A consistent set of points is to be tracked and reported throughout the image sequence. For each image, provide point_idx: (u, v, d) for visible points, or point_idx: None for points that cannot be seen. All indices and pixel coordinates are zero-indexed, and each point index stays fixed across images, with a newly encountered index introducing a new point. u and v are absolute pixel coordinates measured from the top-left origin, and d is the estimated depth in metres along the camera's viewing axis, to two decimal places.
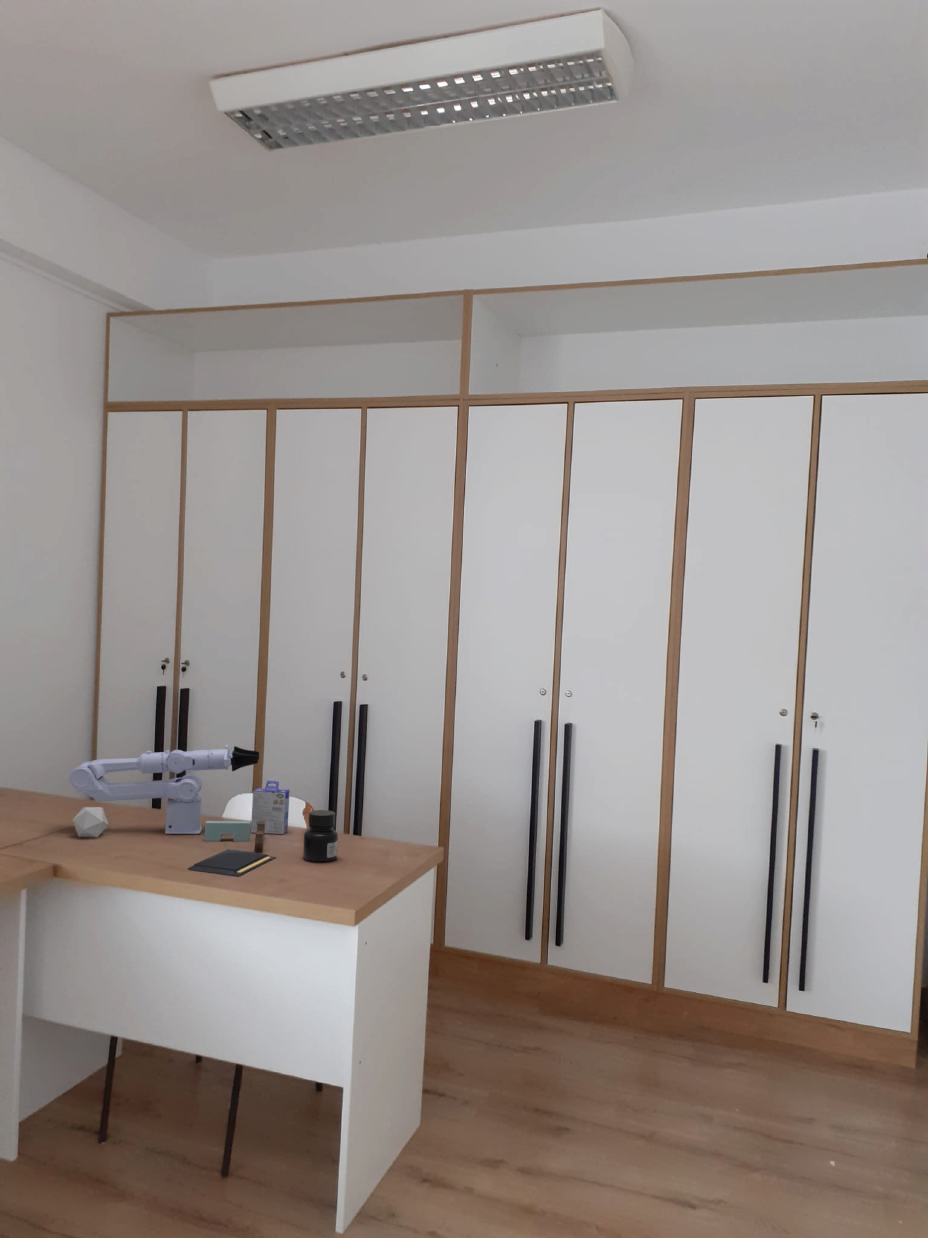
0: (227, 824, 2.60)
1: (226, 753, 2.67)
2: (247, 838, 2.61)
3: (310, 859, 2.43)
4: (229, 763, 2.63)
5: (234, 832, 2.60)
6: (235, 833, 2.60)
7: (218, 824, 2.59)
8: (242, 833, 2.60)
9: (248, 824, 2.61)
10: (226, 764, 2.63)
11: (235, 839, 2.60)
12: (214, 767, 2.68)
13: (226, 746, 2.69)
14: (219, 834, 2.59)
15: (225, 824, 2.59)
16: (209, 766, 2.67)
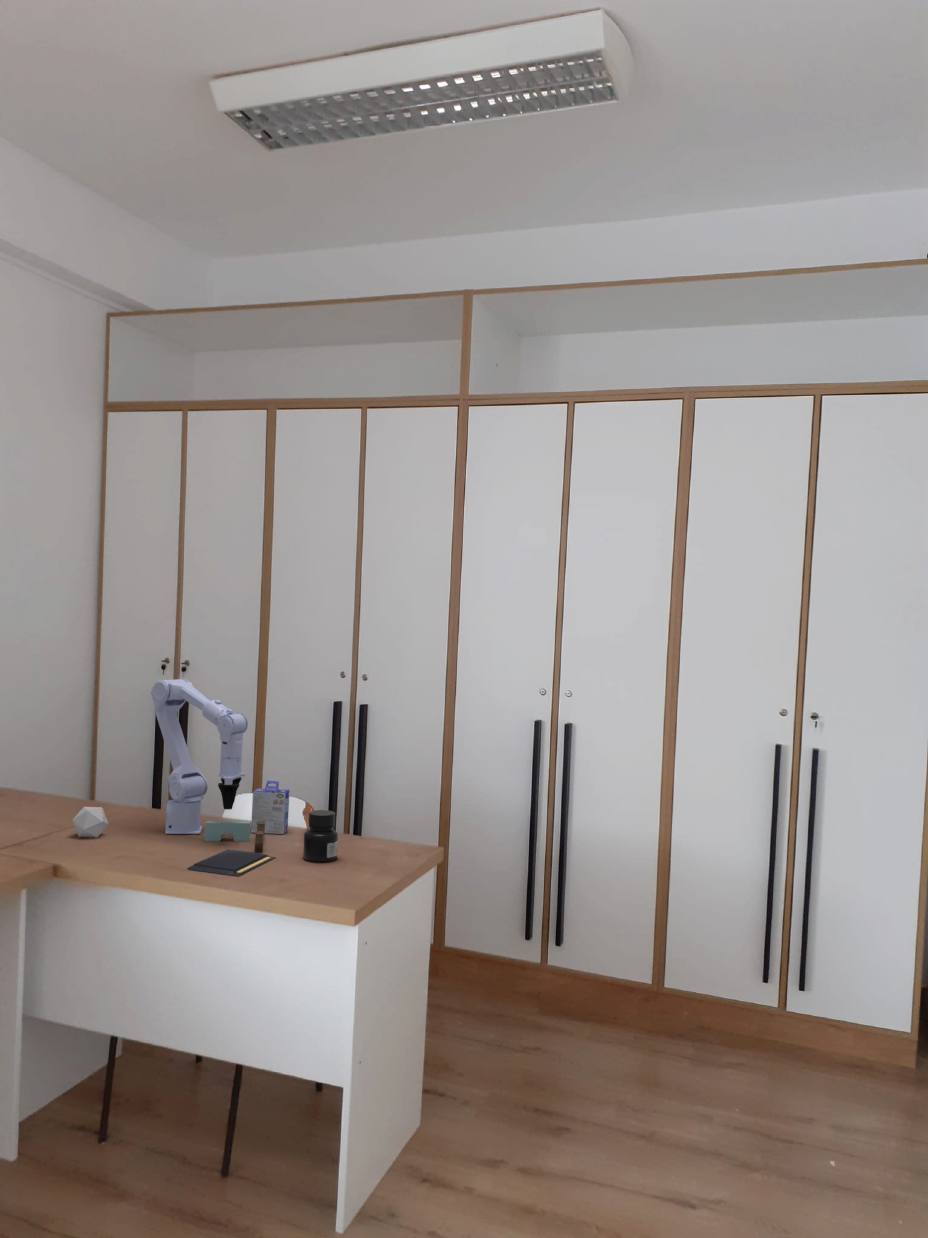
0: (227, 824, 2.60)
1: (237, 777, 2.58)
2: (247, 838, 2.61)
3: (310, 859, 2.43)
4: (227, 783, 2.54)
5: (234, 832, 2.60)
6: (235, 833, 2.60)
7: (218, 824, 2.59)
8: (242, 833, 2.60)
9: (248, 824, 2.61)
10: (226, 780, 2.53)
11: (235, 839, 2.60)
12: (223, 763, 2.58)
13: (243, 775, 2.60)
14: (219, 834, 2.59)
15: (225, 824, 2.59)
16: (224, 758, 2.58)
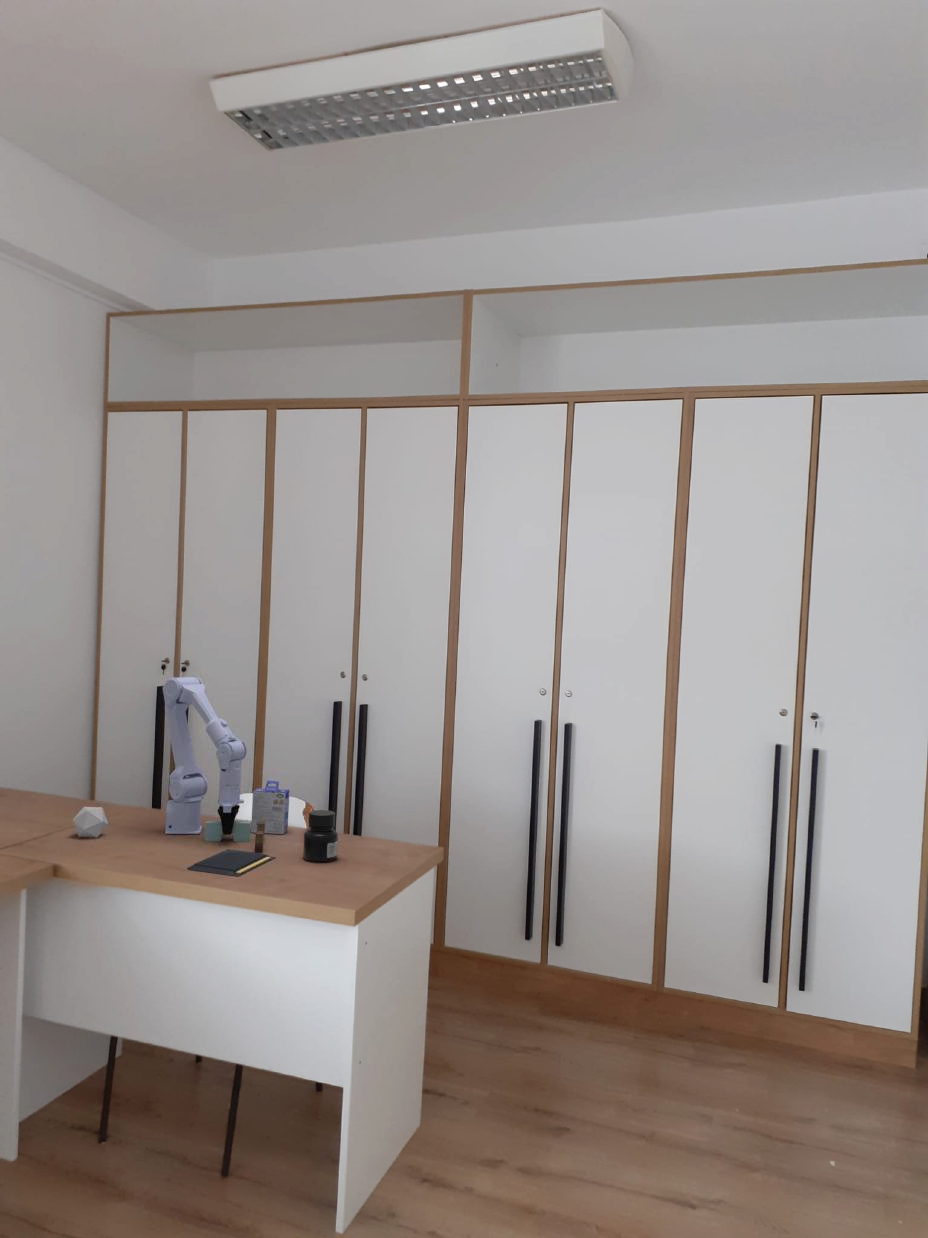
0: None
1: (235, 804, 2.58)
2: (247, 838, 2.61)
3: (310, 859, 2.43)
4: (226, 811, 2.54)
5: (234, 832, 2.60)
6: (235, 833, 2.60)
7: (218, 824, 2.59)
8: (242, 833, 2.60)
9: (248, 824, 2.61)
10: (225, 808, 2.54)
11: (235, 839, 2.60)
12: (221, 790, 2.58)
13: (242, 802, 2.60)
14: (219, 834, 2.59)
15: None
16: (223, 786, 2.58)
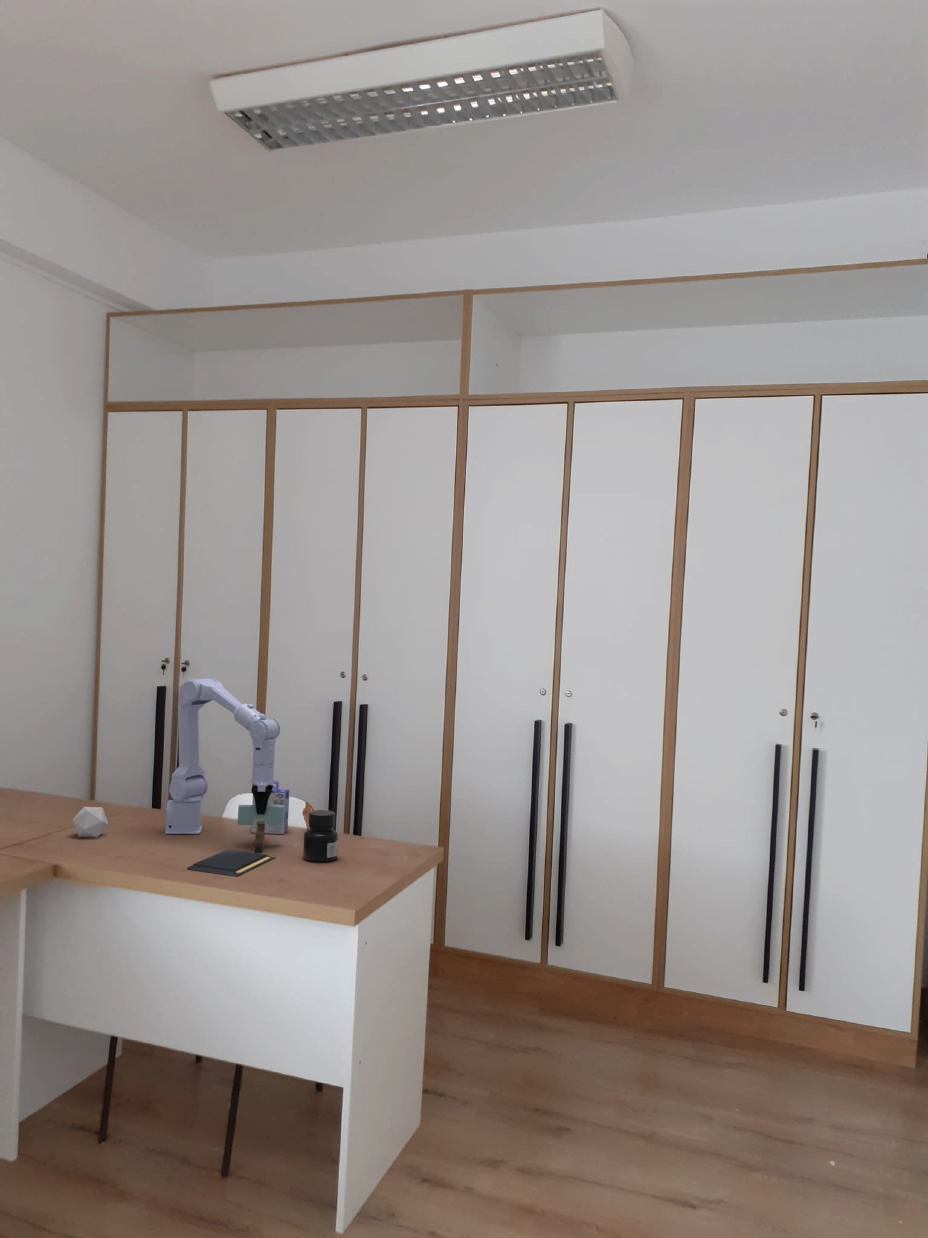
0: None
1: (269, 783, 2.54)
2: (280, 822, 2.56)
3: (310, 859, 2.43)
4: (260, 790, 2.49)
5: (267, 816, 2.56)
6: (268, 817, 2.56)
7: (251, 808, 2.55)
8: (275, 817, 2.56)
9: (281, 808, 2.56)
10: (259, 787, 2.49)
11: (268, 823, 2.56)
12: (255, 769, 2.54)
13: (276, 781, 2.56)
14: (252, 818, 2.55)
15: None
16: (257, 764, 2.54)
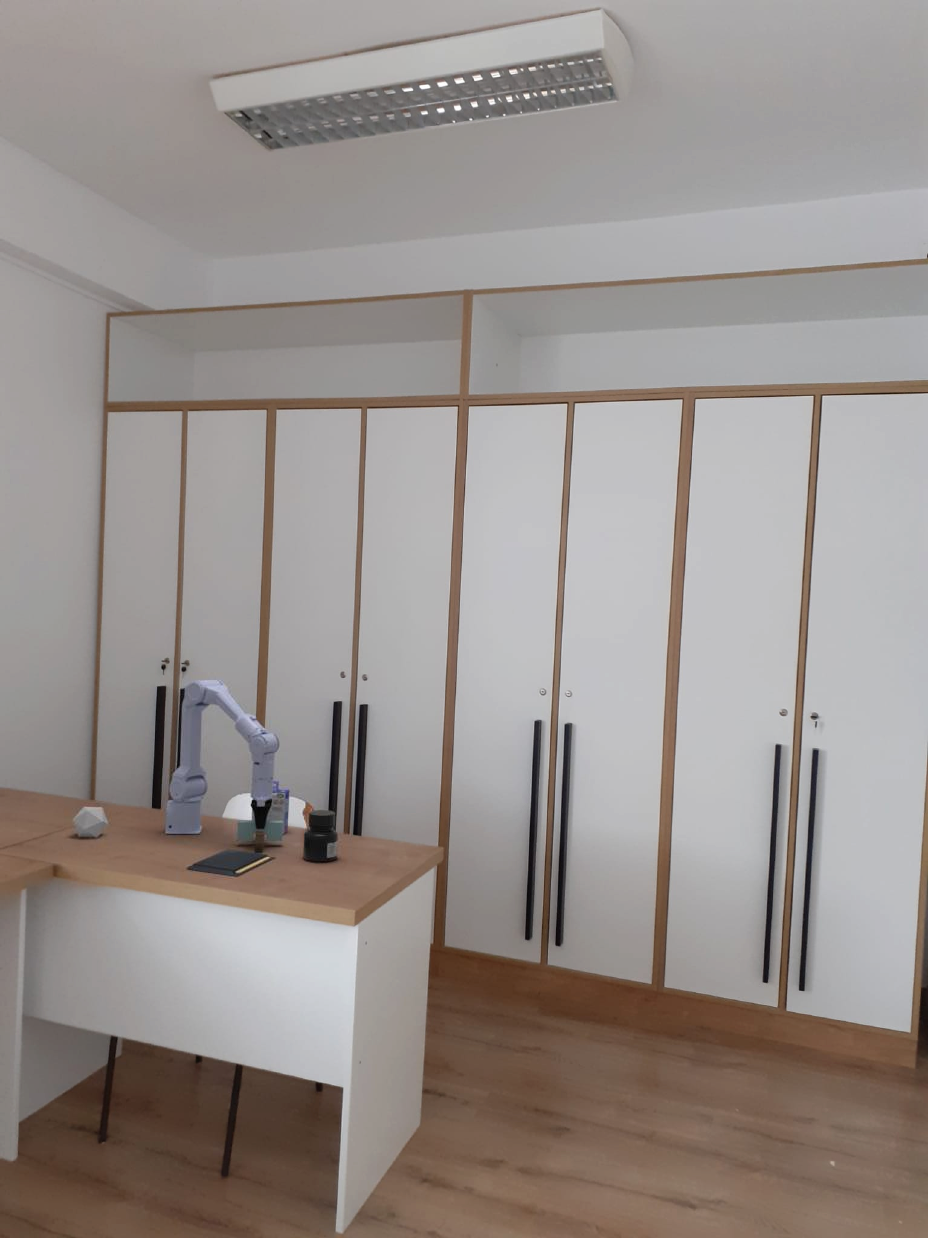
0: None
1: (269, 798, 2.54)
2: (280, 838, 2.56)
3: (310, 859, 2.43)
4: (260, 805, 2.49)
5: (267, 832, 2.56)
6: (268, 833, 2.56)
7: (251, 823, 2.55)
8: (275, 833, 2.56)
9: (281, 823, 2.56)
10: (259, 802, 2.49)
11: (268, 839, 2.56)
12: (255, 784, 2.54)
13: (275, 796, 2.56)
14: (252, 833, 2.55)
15: None
16: (256, 779, 2.54)
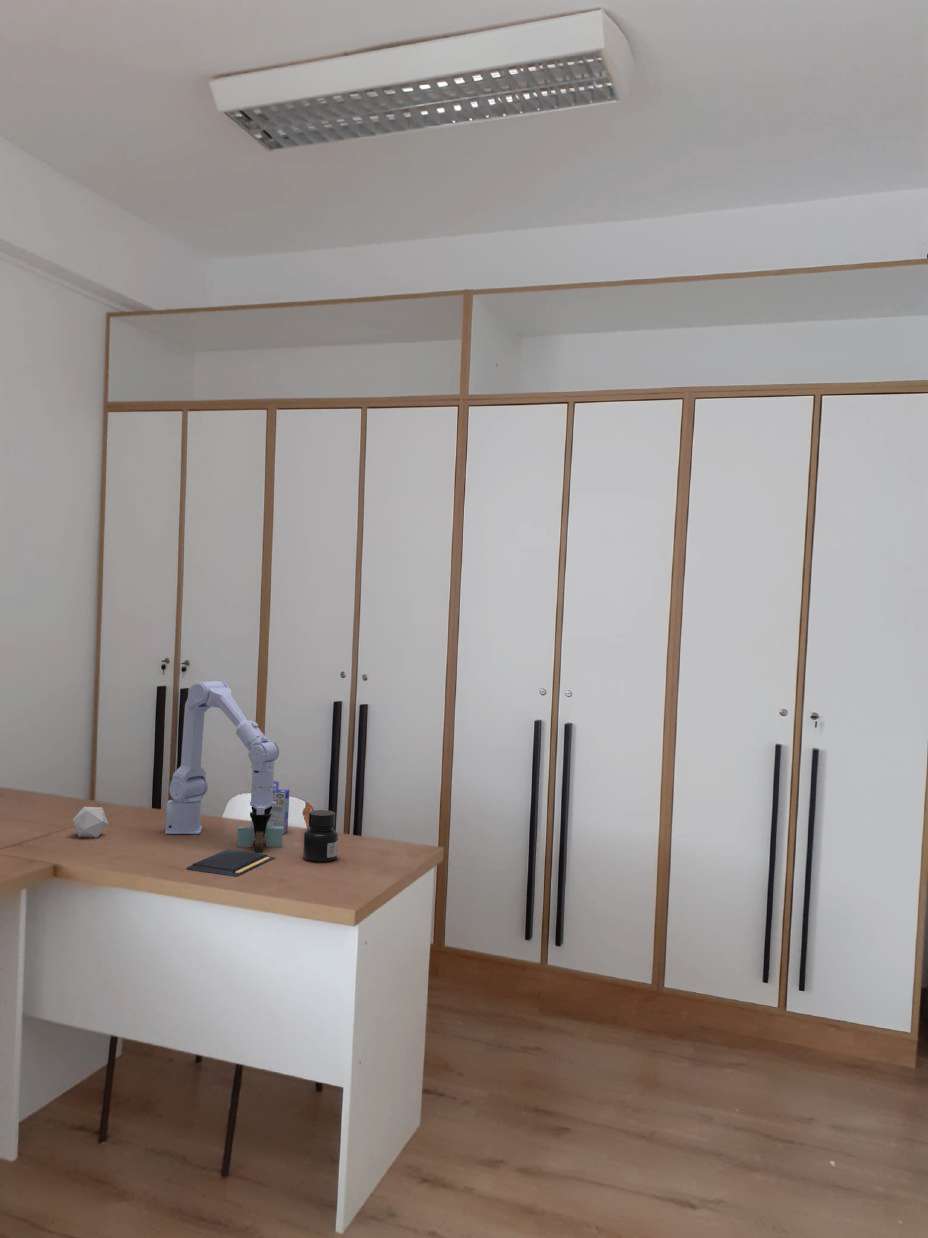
0: None
1: (268, 806, 2.54)
2: (280, 844, 2.56)
3: (310, 859, 2.43)
4: (259, 813, 2.49)
5: (267, 837, 2.56)
6: (268, 838, 2.56)
7: (250, 829, 2.55)
8: (275, 838, 2.56)
9: (281, 829, 2.56)
10: (258, 810, 2.49)
11: (268, 845, 2.56)
12: (254, 792, 2.54)
13: (275, 804, 2.56)
14: (252, 839, 2.55)
15: None
16: (256, 787, 2.54)
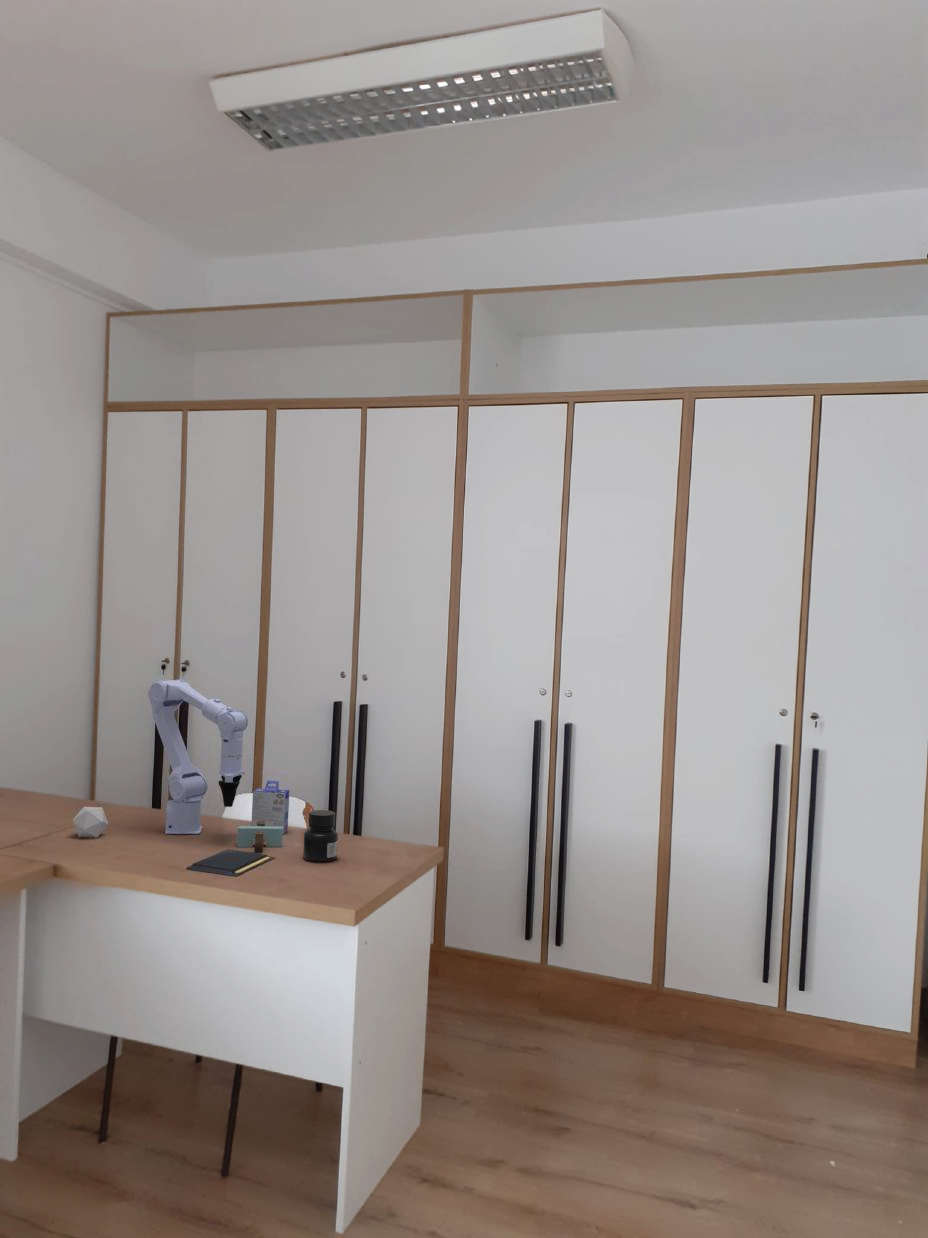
0: (260, 829, 2.55)
1: (237, 774, 2.59)
2: (280, 844, 2.56)
3: (310, 859, 2.43)
4: (227, 781, 2.55)
5: (267, 837, 2.56)
6: (268, 838, 2.56)
7: (250, 829, 2.55)
8: (275, 838, 2.56)
9: (281, 829, 2.56)
10: (227, 778, 2.54)
11: (268, 845, 2.56)
12: (223, 761, 2.59)
13: (244, 772, 2.61)
14: (252, 839, 2.55)
15: (257, 829, 2.55)
16: (225, 756, 2.59)
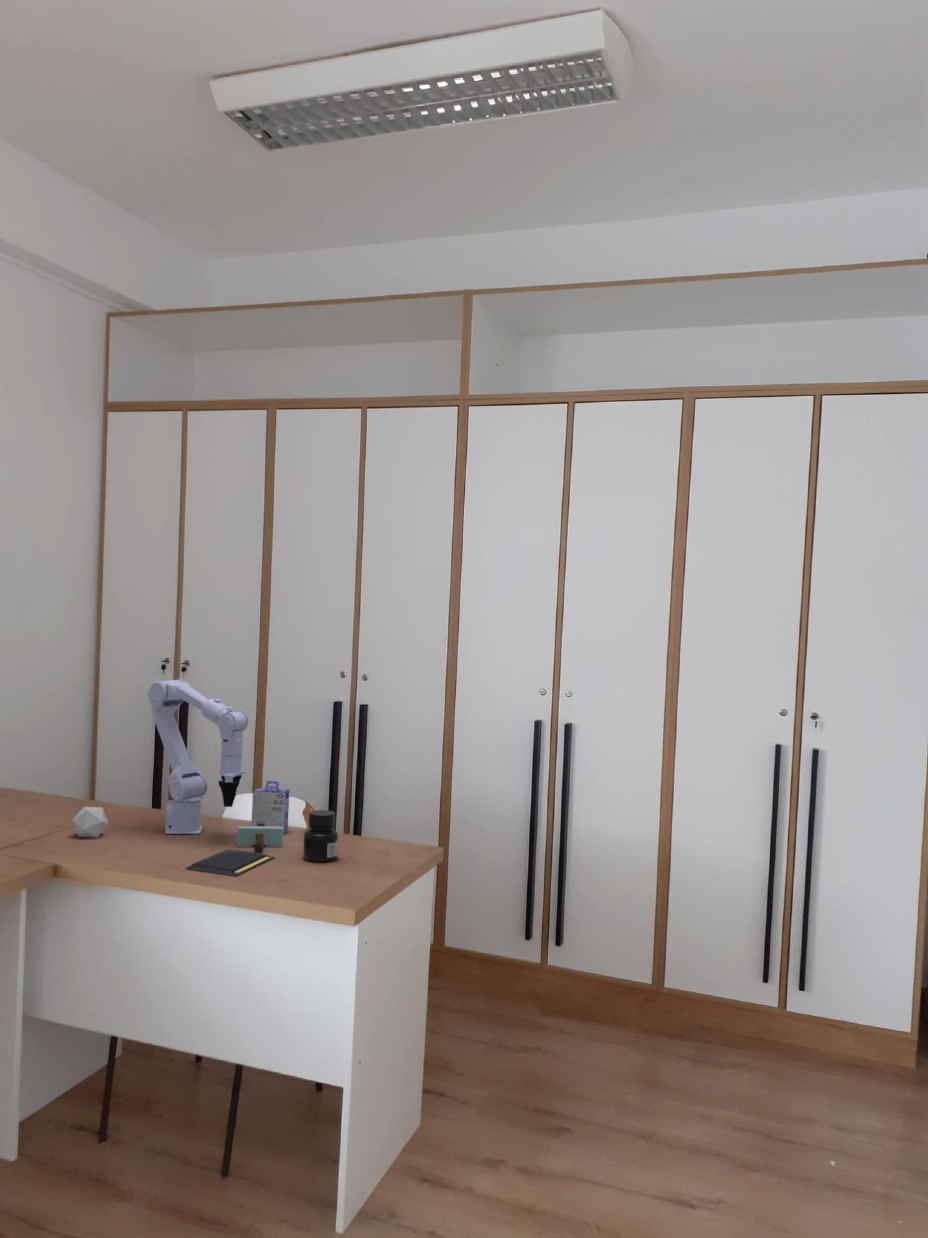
0: (260, 829, 2.55)
1: (237, 774, 2.59)
2: (280, 844, 2.56)
3: (310, 859, 2.43)
4: (227, 781, 2.55)
5: (267, 837, 2.56)
6: (268, 838, 2.56)
7: (250, 829, 2.55)
8: (275, 838, 2.56)
9: (281, 829, 2.56)
10: (227, 778, 2.54)
11: (268, 845, 2.56)
12: (223, 761, 2.59)
13: (244, 772, 2.61)
14: (252, 839, 2.55)
15: (257, 829, 2.55)
16: (225, 756, 2.59)
